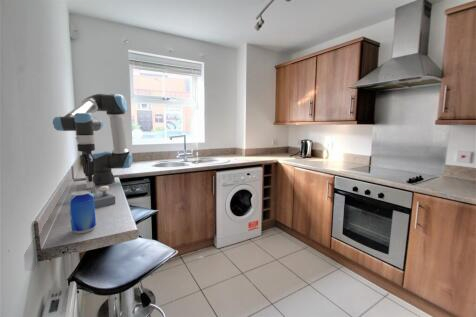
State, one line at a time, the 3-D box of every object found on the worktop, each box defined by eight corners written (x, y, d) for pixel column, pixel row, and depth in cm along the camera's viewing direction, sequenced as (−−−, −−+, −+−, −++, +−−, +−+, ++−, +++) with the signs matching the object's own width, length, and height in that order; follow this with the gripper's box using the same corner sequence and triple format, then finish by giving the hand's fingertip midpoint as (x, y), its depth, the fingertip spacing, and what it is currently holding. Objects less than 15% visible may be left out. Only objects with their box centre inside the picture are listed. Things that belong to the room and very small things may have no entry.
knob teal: (94, 202, 127) (93, 192, 126) (97, 204, 124) (96, 194, 123) (85, 204, 123) (84, 194, 123) (88, 206, 121) (87, 196, 120)
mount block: (106, 198, 135) (106, 192, 135) (115, 203, 128) (115, 196, 127) (81, 204, 125) (80, 197, 125) (89, 209, 118) (88, 202, 117)
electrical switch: (79, 201, 130) (77, 185, 129) (76, 200, 133) (74, 184, 132) (97, 197, 137) (95, 182, 136) (94, 197, 140) (92, 182, 140)
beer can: (93, 223, 101) (90, 188, 99) (98, 230, 95) (95, 192, 93) (70, 229, 96) (66, 192, 93) (73, 236, 90) (69, 196, 87)
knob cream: (107, 194, 132) (106, 185, 131) (110, 196, 129) (109, 186, 128) (98, 196, 128) (98, 186, 128) (102, 198, 126) (101, 188, 125)
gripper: (73, 142, 120) (77, 186, 124) (81, 144, 112) (86, 191, 116) (89, 142, 126) (93, 183, 130) (98, 143, 118) (102, 188, 122)
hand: (90, 187), depth 123 cm, fingers closed
